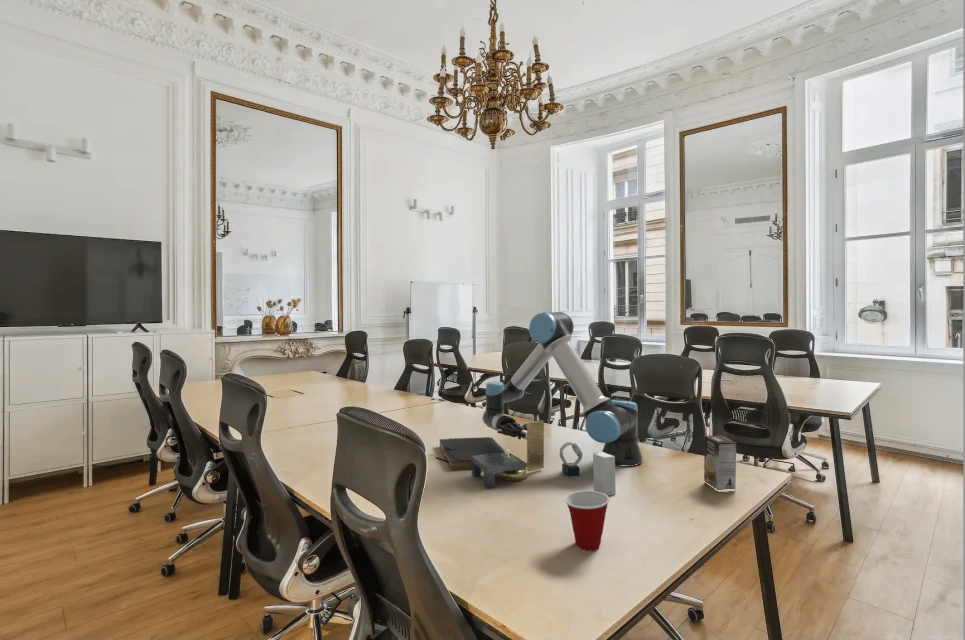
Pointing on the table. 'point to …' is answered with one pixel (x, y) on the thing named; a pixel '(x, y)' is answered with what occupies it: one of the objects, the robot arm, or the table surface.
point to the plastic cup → (587, 517)
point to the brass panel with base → (530, 452)
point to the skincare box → (604, 473)
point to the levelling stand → (494, 465)
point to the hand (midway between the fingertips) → (531, 437)
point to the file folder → (467, 450)
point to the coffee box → (720, 462)
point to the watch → (571, 468)
